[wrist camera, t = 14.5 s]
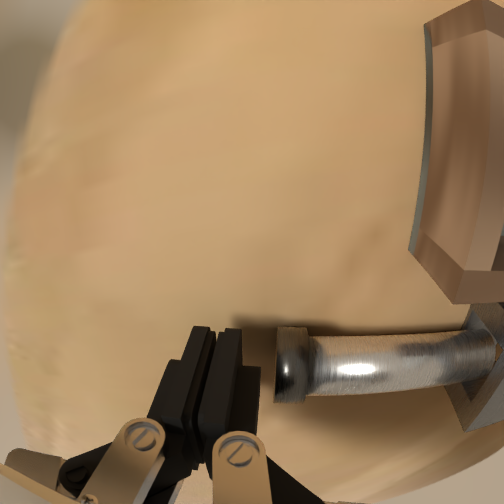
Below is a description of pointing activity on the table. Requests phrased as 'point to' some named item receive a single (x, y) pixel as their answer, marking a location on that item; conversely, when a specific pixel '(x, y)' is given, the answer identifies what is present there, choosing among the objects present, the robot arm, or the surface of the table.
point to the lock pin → (376, 362)
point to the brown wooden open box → (463, 155)
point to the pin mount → (489, 387)
